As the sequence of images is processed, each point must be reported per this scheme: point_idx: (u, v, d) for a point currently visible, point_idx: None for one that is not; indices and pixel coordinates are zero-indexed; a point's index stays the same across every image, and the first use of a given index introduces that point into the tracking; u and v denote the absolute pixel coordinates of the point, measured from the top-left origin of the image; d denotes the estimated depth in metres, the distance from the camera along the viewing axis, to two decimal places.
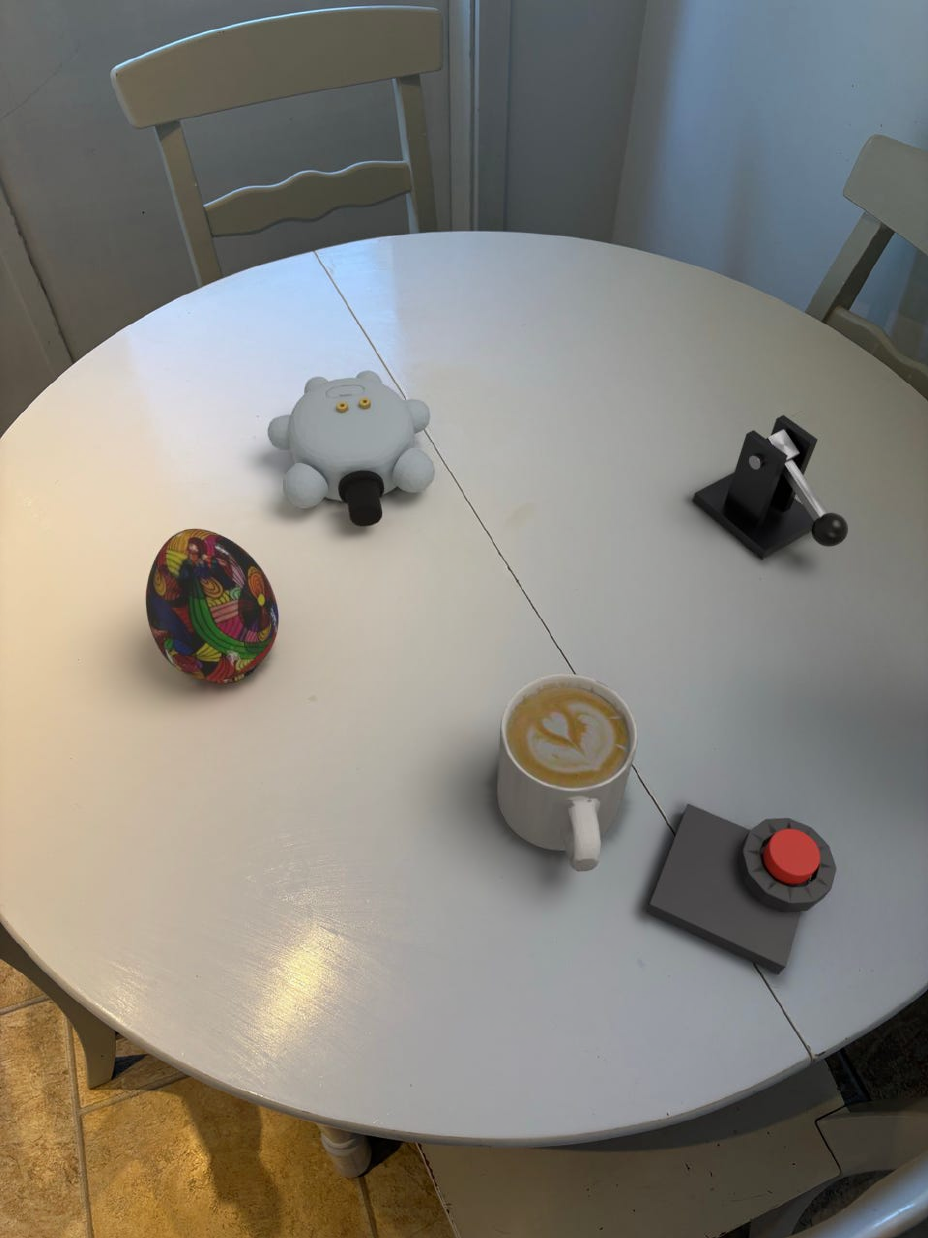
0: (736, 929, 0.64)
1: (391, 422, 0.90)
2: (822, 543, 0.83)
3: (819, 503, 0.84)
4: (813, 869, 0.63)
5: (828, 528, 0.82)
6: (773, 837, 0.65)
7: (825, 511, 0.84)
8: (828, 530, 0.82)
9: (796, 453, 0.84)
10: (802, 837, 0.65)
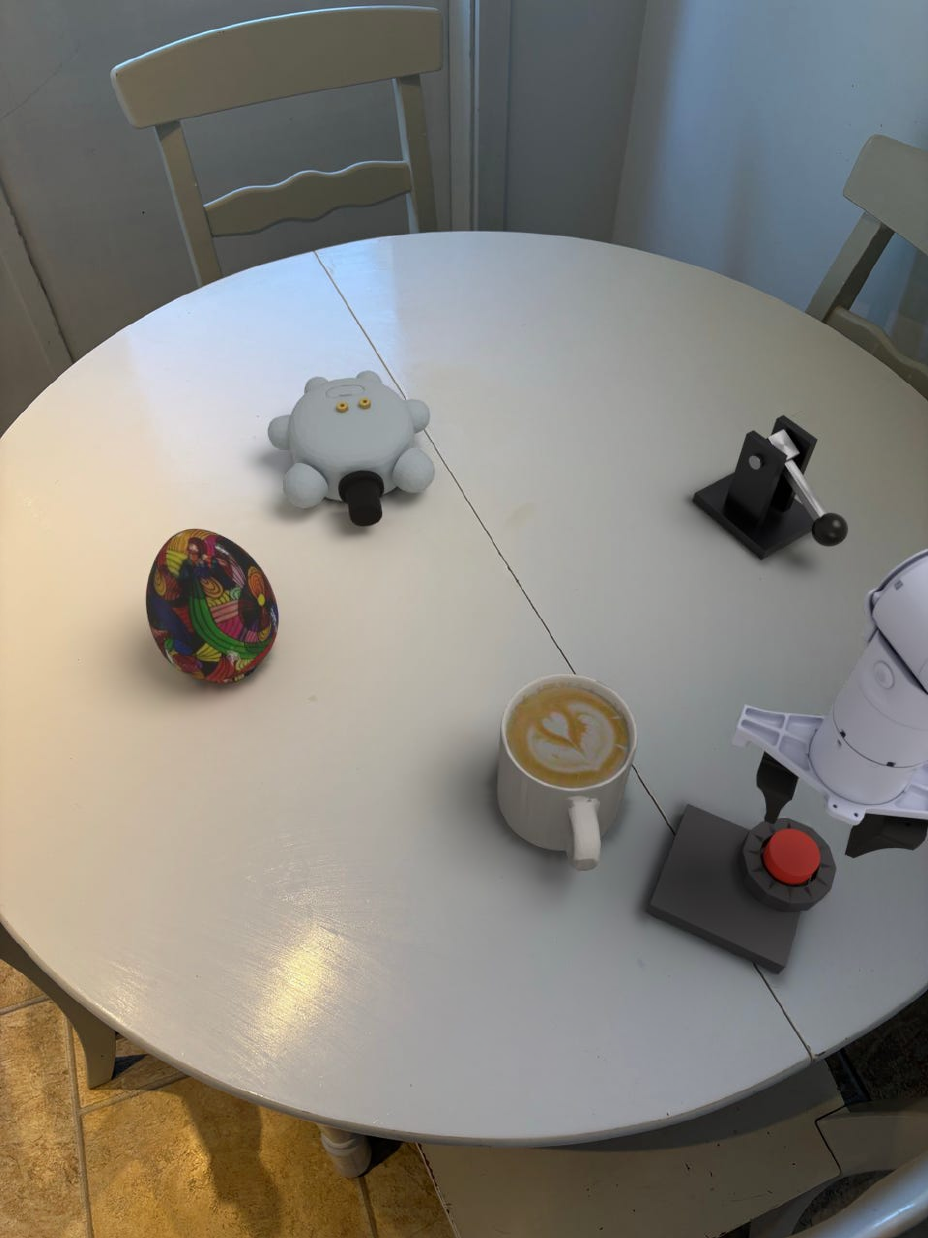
0: (736, 929, 0.64)
1: (391, 422, 0.90)
2: (822, 543, 0.83)
3: (819, 503, 0.84)
4: (813, 869, 0.63)
5: (828, 528, 0.82)
6: (773, 837, 0.65)
7: (825, 511, 0.84)
8: (828, 530, 0.82)
9: (796, 453, 0.84)
10: (802, 837, 0.65)
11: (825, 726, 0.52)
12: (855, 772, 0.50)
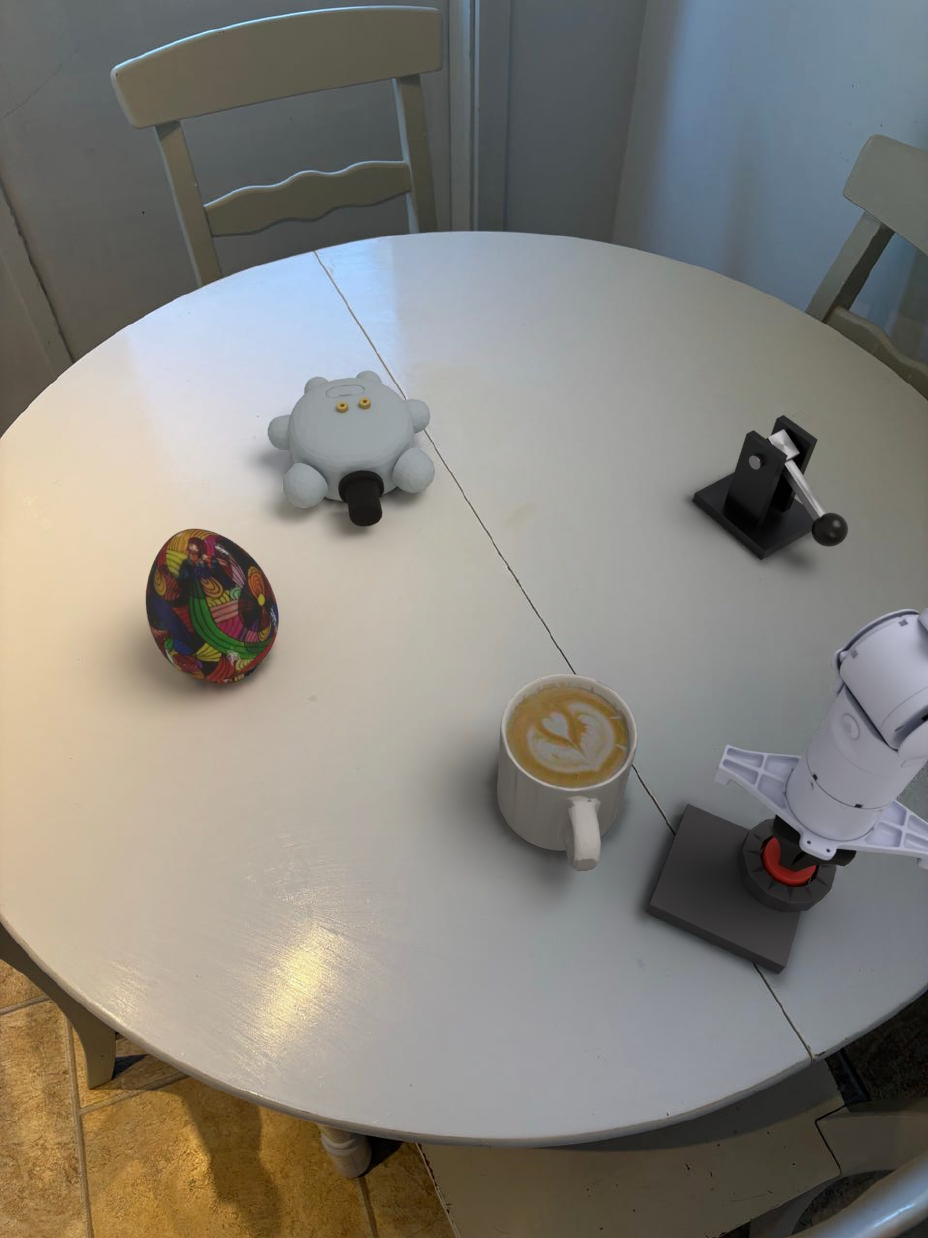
0: (736, 929, 0.64)
1: (391, 422, 0.90)
2: (822, 543, 0.83)
3: (819, 503, 0.84)
4: (809, 874, 0.64)
5: (828, 528, 0.82)
6: (770, 843, 0.65)
7: (825, 511, 0.84)
8: (828, 530, 0.82)
9: (796, 453, 0.84)
10: None
11: (799, 768, 0.55)
12: (826, 811, 0.54)
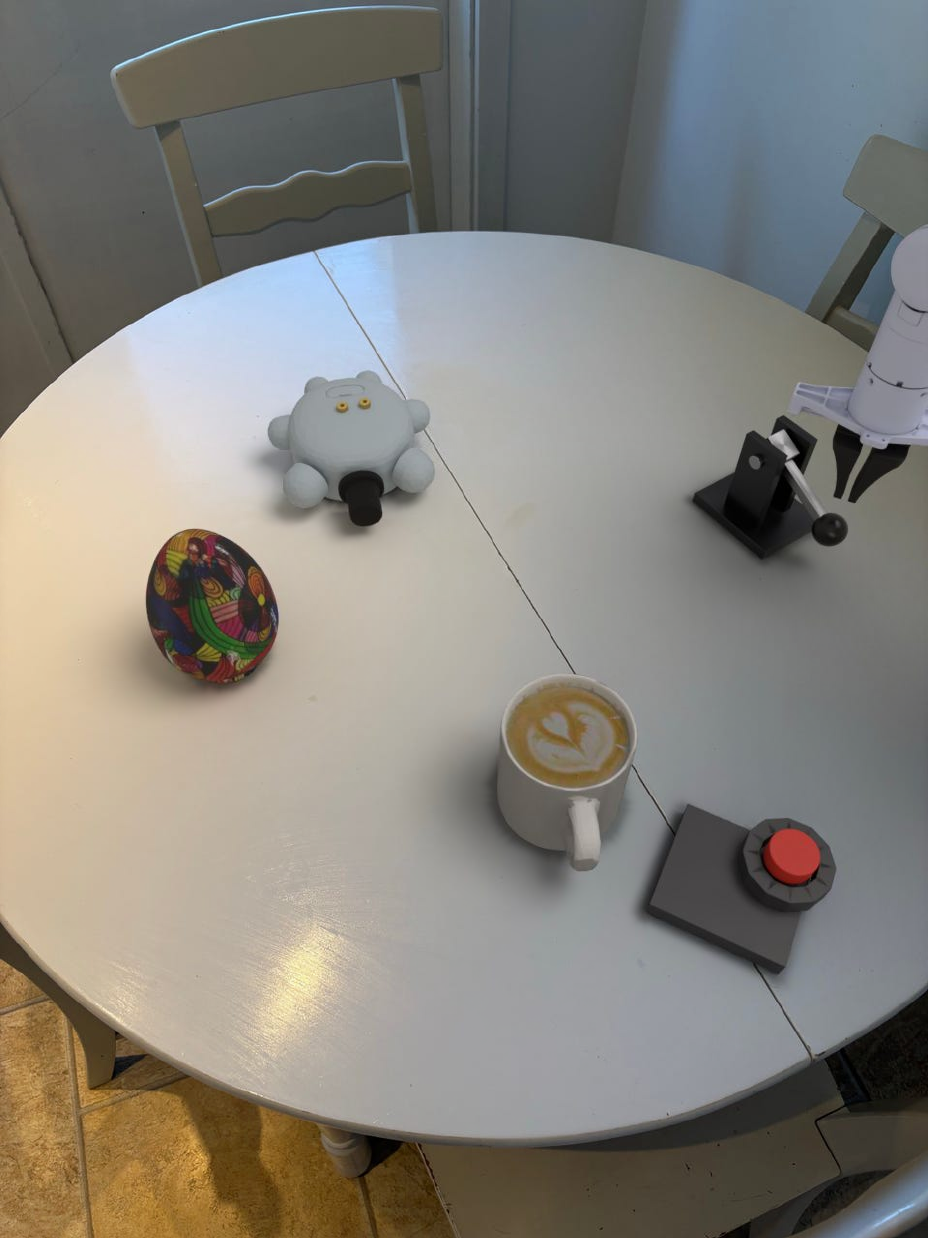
0: (736, 929, 0.64)
1: (391, 422, 0.90)
2: (822, 543, 0.83)
3: (819, 503, 0.84)
4: (813, 869, 0.63)
5: (828, 528, 0.82)
6: (773, 837, 0.65)
7: (825, 511, 0.84)
8: (828, 530, 0.82)
9: (796, 453, 0.84)
10: (802, 837, 0.65)
11: (860, 376, 0.71)
12: (883, 401, 0.69)
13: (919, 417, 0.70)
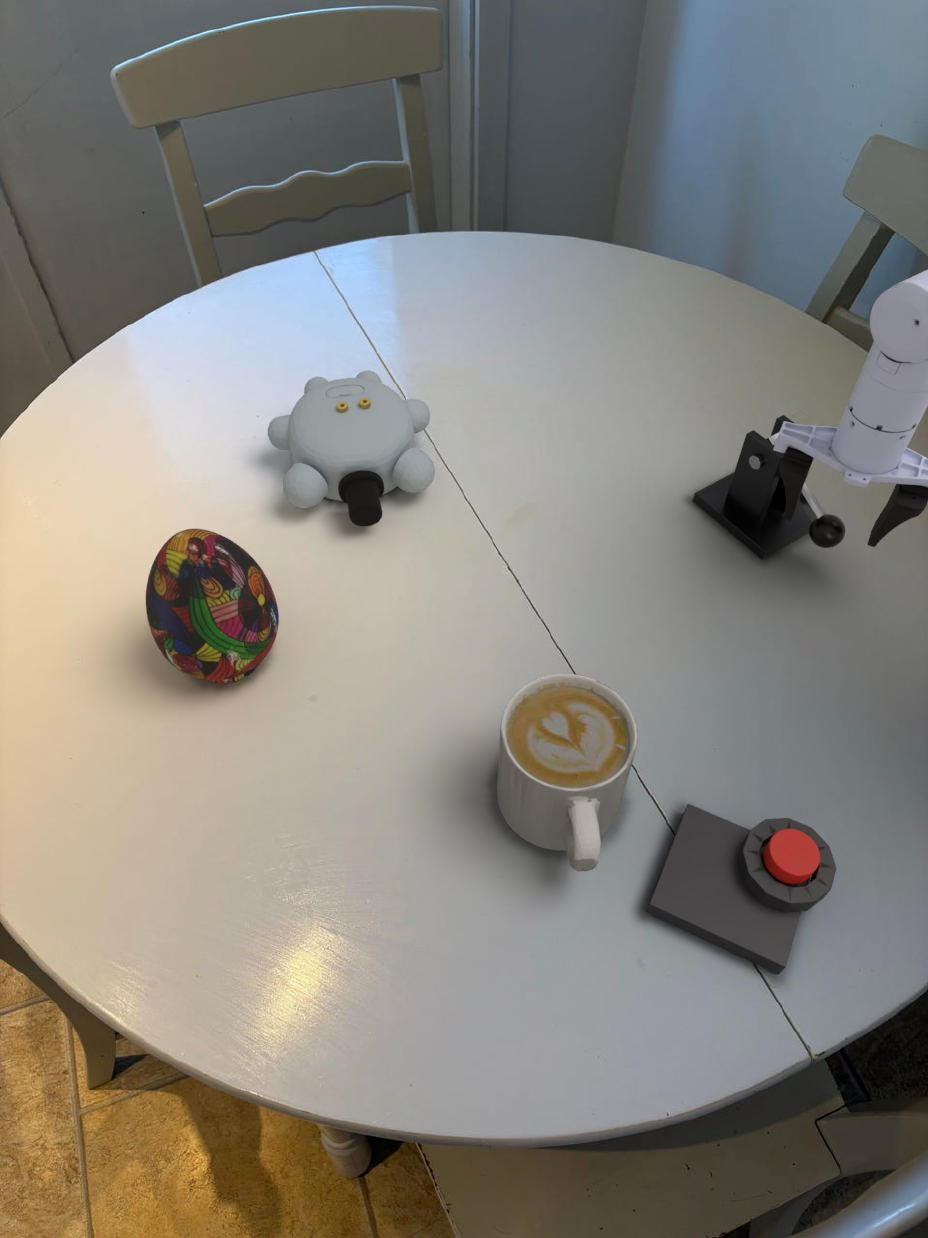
0: (736, 929, 0.64)
1: (391, 422, 0.90)
2: (819, 544, 0.84)
3: (817, 504, 0.84)
4: (813, 869, 0.63)
5: (826, 530, 0.83)
6: (773, 837, 0.65)
7: (823, 512, 0.84)
8: (826, 532, 0.83)
9: None
10: (802, 837, 0.65)
11: (842, 418, 0.74)
12: (864, 443, 0.73)
13: (898, 457, 0.74)
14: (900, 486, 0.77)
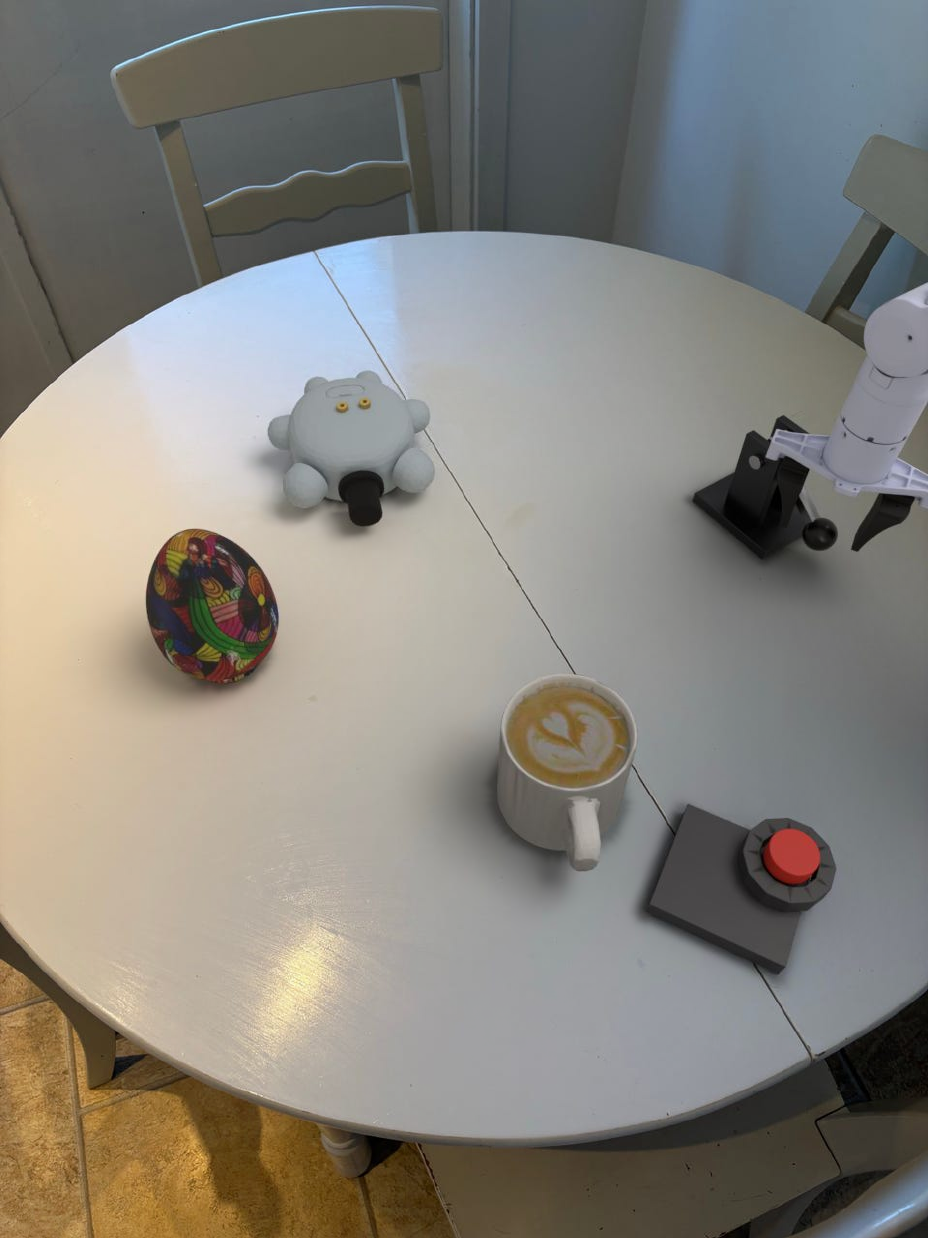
0: (736, 929, 0.64)
1: (391, 422, 0.90)
2: (811, 547, 0.85)
3: (813, 507, 0.85)
4: (813, 869, 0.63)
5: (819, 534, 0.84)
6: (773, 837, 0.65)
7: (818, 516, 0.85)
8: (819, 536, 0.84)
9: None
10: (802, 837, 0.65)
11: (834, 429, 0.75)
12: (855, 453, 0.74)
13: (888, 468, 0.75)
14: (884, 493, 0.78)
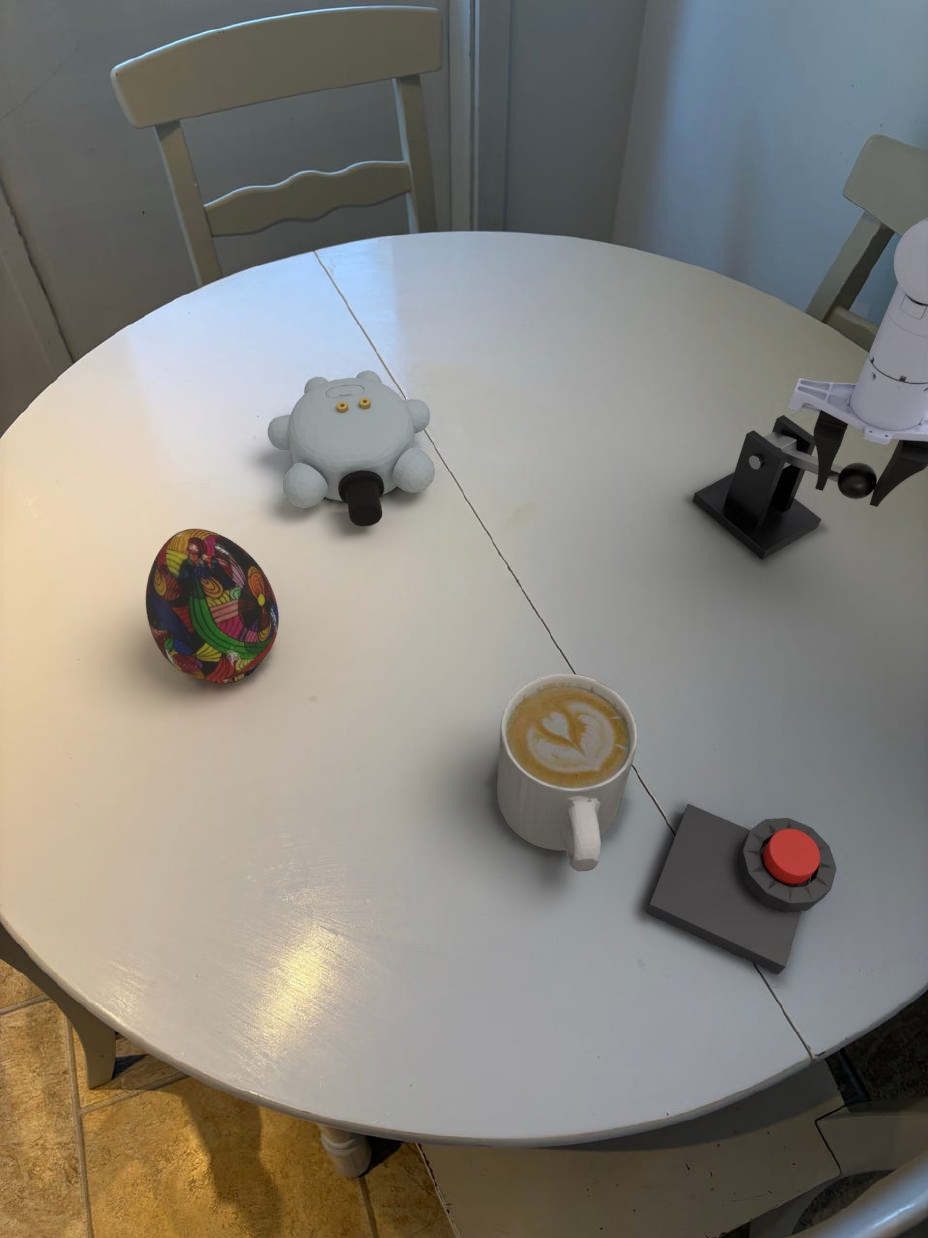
0: (736, 929, 0.64)
1: (391, 422, 0.90)
2: (853, 492, 0.78)
3: (835, 465, 0.80)
4: (813, 869, 0.63)
5: (848, 473, 0.78)
6: (773, 837, 0.65)
7: None
8: (849, 475, 0.77)
9: (793, 440, 0.84)
10: (802, 837, 0.65)
11: (862, 372, 0.70)
12: (886, 396, 0.68)
13: (922, 412, 0.70)
14: (904, 439, 0.73)
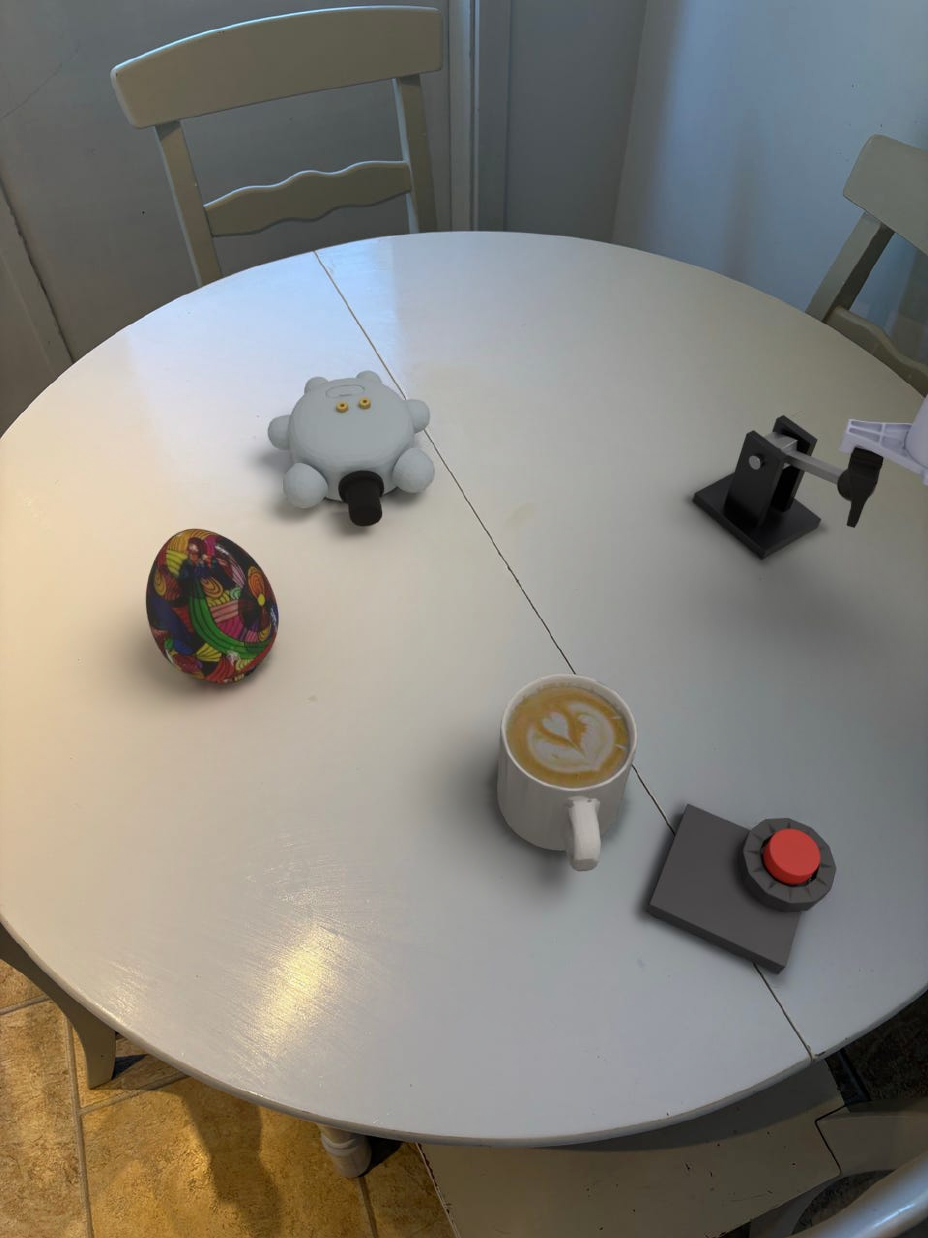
0: (736, 929, 0.64)
1: (391, 422, 0.90)
2: None
3: (834, 467, 0.80)
4: (813, 869, 0.63)
5: None
6: (773, 837, 0.65)
7: (844, 471, 0.80)
8: None
9: (793, 441, 0.84)
10: (802, 837, 0.65)
11: (921, 414, 0.66)
12: None
13: None
14: None
